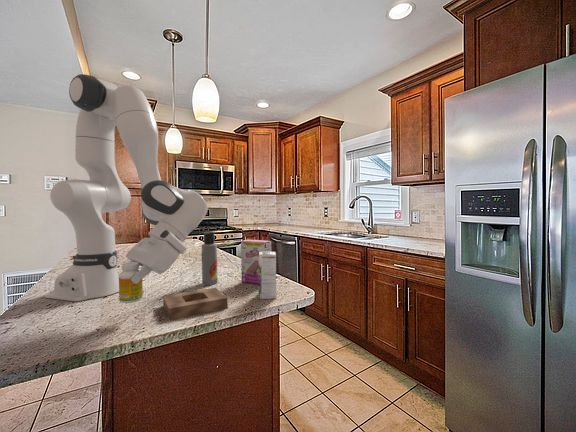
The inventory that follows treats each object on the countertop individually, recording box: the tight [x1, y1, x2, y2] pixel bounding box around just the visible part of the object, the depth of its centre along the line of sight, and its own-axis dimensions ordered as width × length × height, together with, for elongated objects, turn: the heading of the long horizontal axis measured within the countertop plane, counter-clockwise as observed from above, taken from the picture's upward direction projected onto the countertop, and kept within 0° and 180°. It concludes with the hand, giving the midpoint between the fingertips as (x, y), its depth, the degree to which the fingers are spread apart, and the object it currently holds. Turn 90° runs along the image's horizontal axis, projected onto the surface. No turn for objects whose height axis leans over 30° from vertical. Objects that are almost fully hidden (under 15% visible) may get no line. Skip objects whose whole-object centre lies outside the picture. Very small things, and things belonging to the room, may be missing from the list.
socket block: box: [162, 287, 229, 320], centre depth 84 cm, size 16×12×3 cm
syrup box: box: [257, 251, 277, 300], centre depth 93 cm, size 6×6×14 cm
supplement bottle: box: [118, 261, 144, 304], centre depth 74 cm, size 5×5×10 cm
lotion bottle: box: [201, 231, 218, 286], centre depth 109 cm, size 6×6×20 cm
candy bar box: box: [240, 239, 272, 285], centre depth 109 cm, size 11×5×16 cm, turn 66°
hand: (128, 279), depth 73 cm, fingers closed on supplement bottle, 5 cm apart
